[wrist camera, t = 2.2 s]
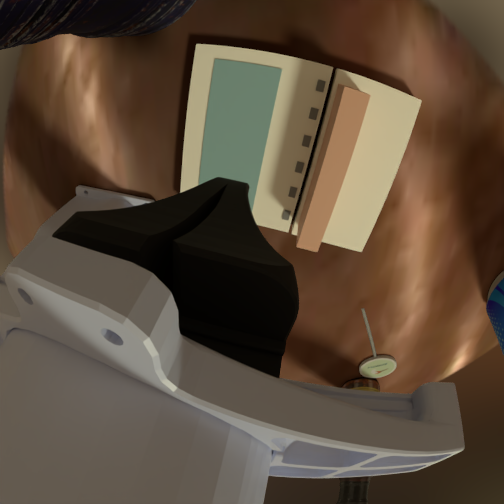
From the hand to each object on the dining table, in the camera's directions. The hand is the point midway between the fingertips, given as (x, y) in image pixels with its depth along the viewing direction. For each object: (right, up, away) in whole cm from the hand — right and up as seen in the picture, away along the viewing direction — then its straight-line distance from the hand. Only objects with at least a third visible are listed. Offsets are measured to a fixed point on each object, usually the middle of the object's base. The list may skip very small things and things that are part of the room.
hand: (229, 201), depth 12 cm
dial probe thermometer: (+16, -13, +20) cm, 29 cm away
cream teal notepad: (+1, +6, +8) cm, 10 cm away
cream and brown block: (+8, +4, +8) cm, 12 cm away
